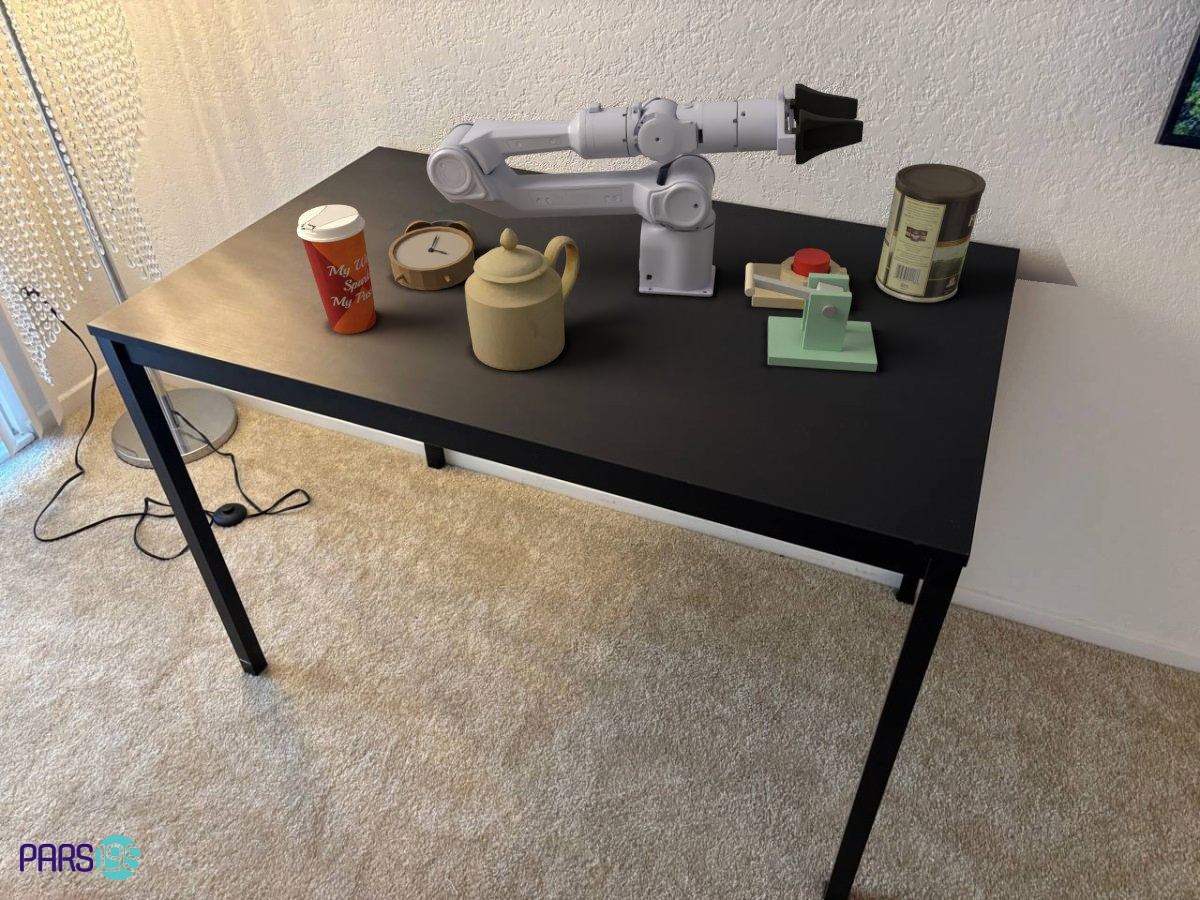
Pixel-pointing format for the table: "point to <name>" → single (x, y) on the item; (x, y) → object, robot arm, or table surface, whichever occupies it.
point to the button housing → (787, 275)
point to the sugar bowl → (520, 303)
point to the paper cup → (339, 265)
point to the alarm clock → (433, 254)
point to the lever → (780, 285)
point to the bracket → (823, 332)
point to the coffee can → (928, 231)
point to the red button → (811, 262)
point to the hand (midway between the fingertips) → (859, 119)
